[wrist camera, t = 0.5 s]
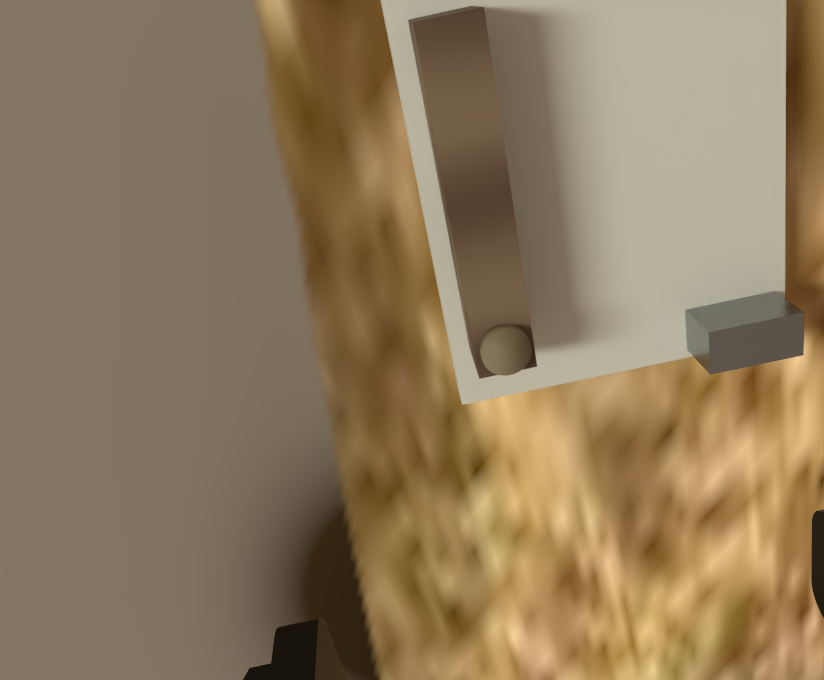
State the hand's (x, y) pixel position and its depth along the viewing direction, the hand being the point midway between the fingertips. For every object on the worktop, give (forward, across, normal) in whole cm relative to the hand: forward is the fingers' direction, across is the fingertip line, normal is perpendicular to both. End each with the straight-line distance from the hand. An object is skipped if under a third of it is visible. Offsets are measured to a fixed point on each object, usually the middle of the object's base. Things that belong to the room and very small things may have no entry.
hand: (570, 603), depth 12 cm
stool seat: (+23, -7, -2) cm, 24 cm away
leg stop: (+21, -12, +7) cm, 25 cm away
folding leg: (+21, -2, -1) cm, 21 cm away
